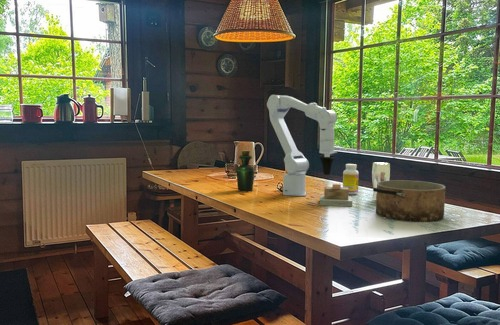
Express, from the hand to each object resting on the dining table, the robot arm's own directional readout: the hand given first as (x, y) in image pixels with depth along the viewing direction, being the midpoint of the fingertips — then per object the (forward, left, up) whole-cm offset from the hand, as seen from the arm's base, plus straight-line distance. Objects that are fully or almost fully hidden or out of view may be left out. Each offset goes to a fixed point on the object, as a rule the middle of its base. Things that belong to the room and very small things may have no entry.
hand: (326, 173), depth 192 cm
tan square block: (+4, -9, -4) cm, 10 cm away
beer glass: (+22, +2, -11) cm, 24 cm away
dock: (+4, -9, -10) cm, 14 cm away
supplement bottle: (+11, +15, -11) cm, 21 cm away
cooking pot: (+28, -25, -11) cm, 39 cm away
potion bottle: (-35, +13, -11) cm, 39 cm away
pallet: (+4, -9, -8) cm, 13 cm away
